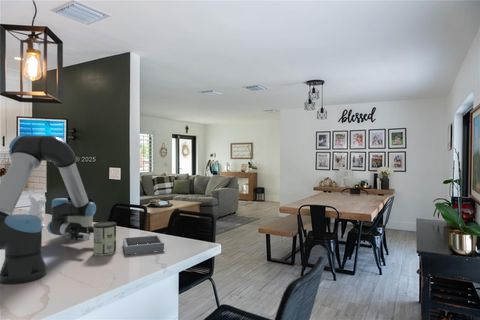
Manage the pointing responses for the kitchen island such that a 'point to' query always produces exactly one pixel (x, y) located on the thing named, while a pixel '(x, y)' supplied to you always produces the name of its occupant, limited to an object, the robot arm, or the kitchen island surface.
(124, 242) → the grey square tray
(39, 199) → the cherub figurine
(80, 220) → the canister
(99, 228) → the coffee can
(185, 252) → the kitchen island surface
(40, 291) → the kitchen island surface
